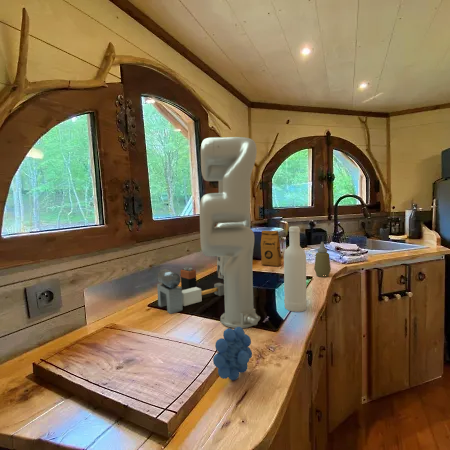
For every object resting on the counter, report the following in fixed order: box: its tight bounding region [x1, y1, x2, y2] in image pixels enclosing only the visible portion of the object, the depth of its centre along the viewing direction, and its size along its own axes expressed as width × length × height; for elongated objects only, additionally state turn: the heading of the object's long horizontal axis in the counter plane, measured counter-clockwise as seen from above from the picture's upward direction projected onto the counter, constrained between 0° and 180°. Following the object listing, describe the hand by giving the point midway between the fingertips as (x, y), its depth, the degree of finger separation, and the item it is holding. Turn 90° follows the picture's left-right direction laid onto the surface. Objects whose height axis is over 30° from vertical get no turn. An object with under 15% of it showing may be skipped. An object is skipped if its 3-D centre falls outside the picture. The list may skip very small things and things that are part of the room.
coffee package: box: [260, 230, 282, 267], centre depth 167 cm, size 10×12×22 cm
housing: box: [156, 268, 183, 315], centre depth 101 cm, size 11×6×14 cm, turn 37°
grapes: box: [212, 327, 253, 381], centre depth 57 cm, size 12×7×12 cm, turn 136°
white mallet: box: [182, 282, 224, 307], centre depth 110 cm, size 4×20×5 cm, turn 127°
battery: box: [180, 266, 197, 290], centre depth 124 cm, size 4×7×10 cm, turn 45°
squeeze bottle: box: [313, 241, 332, 278], centre depth 138 cm, size 8×8×18 cm
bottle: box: [283, 225, 308, 313], centre depth 96 cm, size 8×8×30 cm
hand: (228, 289), depth 118 cm, fingers closed
